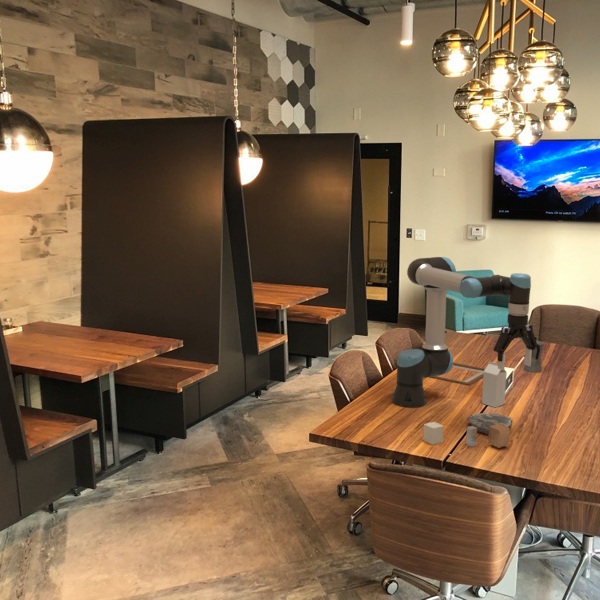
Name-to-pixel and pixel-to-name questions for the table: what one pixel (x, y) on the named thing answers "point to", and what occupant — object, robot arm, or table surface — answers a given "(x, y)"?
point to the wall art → (468, 381)
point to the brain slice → (488, 421)
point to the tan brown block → (498, 435)
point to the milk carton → (494, 385)
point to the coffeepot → (535, 358)
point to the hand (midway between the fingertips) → (514, 367)
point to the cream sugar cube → (433, 433)
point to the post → (471, 436)
